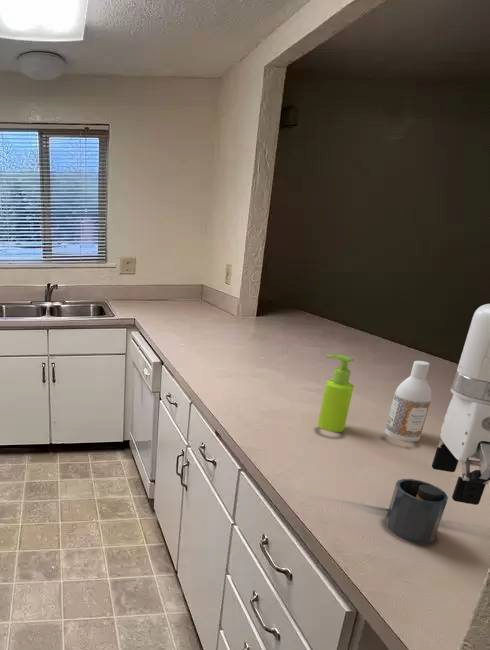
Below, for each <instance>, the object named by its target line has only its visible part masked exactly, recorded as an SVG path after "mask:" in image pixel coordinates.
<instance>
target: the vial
mask: <svg viewBox="0 0 490 650" xmlns="http://www.w3.org/2000/svg"><path fill="white" fill-rule="evenodd" d="M441 494H442V493H441V491H440V490H439V489H437V488H435V487H433V486H430V485H420V486H419V489H418V492H417V496H416V498H419V499H422V500H427V501H439V500H440V497H441Z"/></svg>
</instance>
